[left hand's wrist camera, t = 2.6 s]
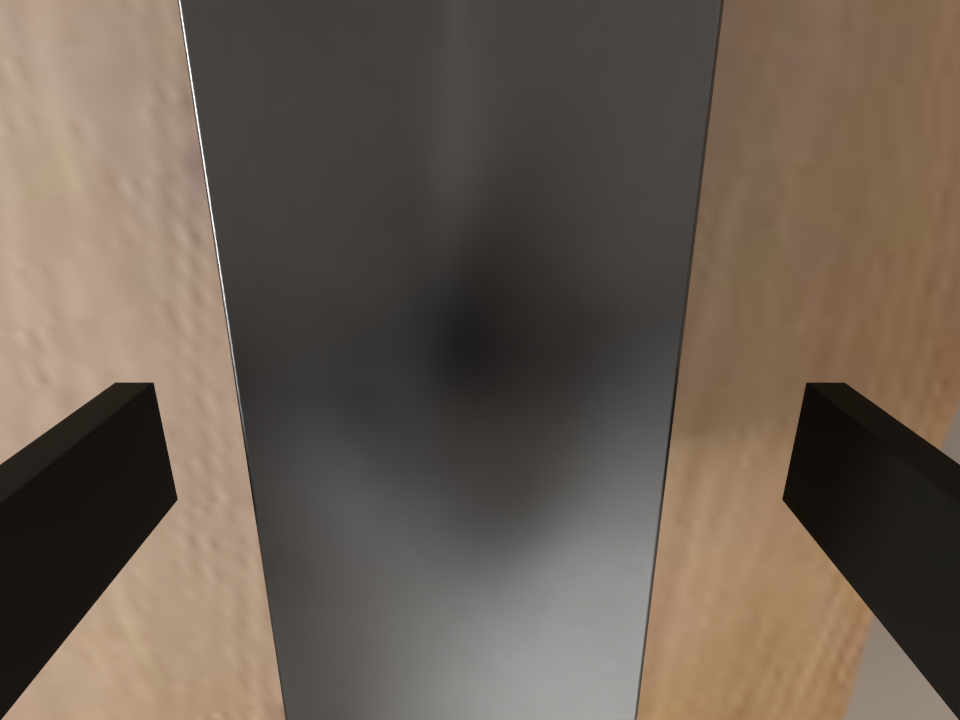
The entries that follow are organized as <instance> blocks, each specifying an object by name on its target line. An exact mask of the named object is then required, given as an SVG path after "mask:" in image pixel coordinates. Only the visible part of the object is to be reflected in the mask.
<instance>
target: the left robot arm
mask: <svg viewBox="0 0 960 720" xmlns="http://www.w3.org/2000/svg"><path fill="white" fill-rule="evenodd" d="M177 500H178V499H177V494H176V490H175V485H174V480H173V475H172V470H171V465H170V460H169V456H168V451H167V446H166V441H165V436H164V431H163V427H162V422H161V417H160V412H159V407H158V402H157V398H156V393H155V388H154V383H114V384H113V385H111V386H110V387H109V388H107V389H106V390H104V391H103V392H102V393H100V394H99V395H97V396H96V397H95V398H93V399H92V400H90V401H89V402H88V403H86V404H85V405H83V406H82V407H81V408H79V409H78V410H76V411H75V412H74V413H72V414H71V415H69V416H68V417H67V418H65V419H64V420H62V421H61V422H60V423H58V424H57V425H55V426H54V427H53V428H51V429H50V430H48V431H47V432H46V433H44V434H43V435H41V436H40V437H39V438H37V439H36V440H34V441H33V442H32V443H30V444H29V445H27V446H26V447H25V448H23V449H22V450H20V451H19V452H18V453H16V454H15V455H13V456H12V457H11V458H9V459H8V460H6V461H5V462H4V463H2V464H1V465H0V720H1V719H2V718H3V717H4V715H5V714H6V713H7V712H8V710H9V709H10V708H11V707H12V706H13V704H14V703H15V702H16V701H17V699H18V698H19V697H20V696H21V694H22V693H23V692H24V691H25V689H26V688H27V687H28V686H29V684H30V683H31V682H32V681H33V679H34V678H35V677H36V676H37V674H38V673H39V672H40V671H41V669H42V668H43V667H44V666H45V664H46V663H47V662H48V661H49V659H50V658H51V657H52V656H53V654H54V653H55V652H56V651H57V649H58V648H59V647H60V646H61V644H62V643H63V642H64V641H65V639H66V638H67V637H68V636H69V634H70V633H71V632H72V631H73V629H74V628H75V627H76V626H77V624H78V623H79V622H80V621H81V619H82V618H83V617H84V616H85V614H86V613H87V612H88V611H89V609H90V608H91V607H92V606H93V604H94V603H95V602H96V601H97V600H98V598H99V597H100V596H101V595H102V593H103V592H104V591H105V590H106V588H107V587H108V586H109V585H110V583H111V582H112V581H113V580H114V578H115V577H116V576H117V575H118V573H119V572H120V571H121V570H122V568H123V567H124V566H125V565H126V563H127V562H128V561H129V560H130V558H131V557H132V556H133V555H134V553H135V552H136V551H137V550H138V548H139V547H140V546H141V545H142V543H143V542H144V541H145V540H146V538H147V537H148V536H149V535H150V533H151V532H152V531H153V530H154V528H155V527H156V526H157V525H158V523H159V522H160V521H161V520H162V518H163V517H164V516H165V515H166V513H167V512H168V511H169V510H170V508H171V507H172V506H173V505H174V503H175V502H176V501H177ZM782 500H783V501H784V502H785V503H786V505H787V506H788V507H789V508H790V510H791V511H792V512H793V513H794V515H795V516H796V517H797V518H798V520H799V521H800V522H801V523H802V525H803V526H804V527H805V528H806V530H807V531H808V532H809V533H810V535H811V536H812V537H813V538H814V540H815V541H816V542H817V543H818V545H819V546H820V547H821V548H822V550H823V551H824V552H825V553H826V555H827V556H828V557H829V558H830V560H831V561H832V562H833V563H834V565H835V566H836V567H837V568H838V570H839V571H840V572H841V573H842V575H843V576H844V577H845V578H846V580H847V581H848V582H849V583H850V585H851V586H852V587H853V588H854V590H855V591H856V592H857V593H858V595H859V596H860V597H861V598H862V600H863V601H864V602H865V603H866V604H867V606H868V607H869V608H870V609H871V611H872V612H873V613H874V614H875V616H876V617H877V618H878V619H879V621H880V622H881V623H882V624H883V626H884V627H885V628H886V629H887V631H888V632H889V633H890V634H891V636H892V637H893V638H894V639H895V641H896V642H897V643H898V644H899V646H900V647H901V648H902V649H903V651H904V652H905V653H906V654H907V656H908V657H909V658H910V659H911V661H912V662H913V663H914V664H915V666H916V667H917V668H918V669H919V671H920V672H921V673H922V674H923V676H924V677H925V678H926V679H927V681H928V682H929V683H930V684H931V686H932V687H933V688H934V689H935V691H936V692H937V693H938V694H939V695H940V697H941V698H942V699H943V701H944V702H945V703H946V704H947V706H948V707H949V708H950V709H951V710H952V712H953V713H954V714H955V715H956V717H957V718H958V719H959V720H960V465H959V464H958V463H956V462H955V461H954V460H952V459H951V458H949V457H948V456H947V455H945V454H944V453H942V452H941V451H940V450H938V449H937V448H935V447H934V446H933V445H931V444H930V443H928V442H927V441H926V440H924V439H923V438H921V437H920V436H919V435H917V434H916V433H914V432H913V431H912V430H910V429H909V428H907V427H906V426H905V425H903V424H902V423H900V422H899V421H898V420H896V419H895V418H893V417H892V416H891V415H889V414H888V413H886V412H885V411H884V410H882V409H881V408H879V407H878V406H877V405H875V404H874V403H872V402H871V401H870V400H868V399H867V398H865V397H864V396H863V395H861V394H860V393H858V392H857V391H856V390H854V389H853V388H851V387H850V386H849V385H847V384H846V383H806V388H805V393H804V398H803V402H802V407H801V412H800V417H799V422H798V427H797V431H796V436H795V441H794V446H793V451H792V456H791V460H790V465H789V470H788V475H787V480H786V485H785V490H784V494H783V499H782Z"/></svg>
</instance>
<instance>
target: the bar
mask: <svg viewBox="0 0 960 720" xmlns="http://www.w3.org/2000/svg"><path fill="white" fill-rule="evenodd" d="M723 2H724V0H178V6H179V12H180V19H181V26H182V32H183V39H184V46H185V52H186V59H187V65H188V72H189V79H190V85H191V92H192V99H193V105H194V112H195V119H196V125H197V132H198V139H199V145H200V152H201V159H202V165H203V172H204V179H205V185H206V192H207V199H208V205H209V212H210V219H211V225H212V232H213V238H214V245H215V252H216V258H217V265H218V272H219V278H220V285H221V292H222V298H223V305H224V312H225V318H226V325H227V332H228V338H229V345H230V352H231V358H232V365H233V372H234V378H235V385H236V392H237V398H238V405H239V411H240V418H241V425H242V431H243V438H244V445H245V451H246V458H247V465H248V471H249V478H250V485H251V491H252V498H253V505H254V511H255V518H256V525H257V531H258V538H259V545H260V551H261V558H262V565H263V571H264V578H265V584H266V591H267V598H268V604H269V611H270V618H271V624H272V631H273V638H274V644H275V651H276V658H277V664H278V671H279V678H280V684H281V691H282V698H283V704H284V711H285V718H286V720H636V719H637V713H638V704H639V696H640V688H641V680H642V671H643V663H644V655H645V647H646V638H647V630H648V622H649V613H650V605H651V597H652V589H653V580H654V572H655V564H656V556H657V547H658V539H659V531H660V523H661V514H662V506H663V498H664V490H665V481H666V473H667V465H668V457H669V448H670V440H671V432H672V424H673V415H674V407H675V399H676V391H677V382H678V374H679V366H680V357H681V349H682V341H683V333H684V324H685V316H686V308H687V300H688V291H689V283H690V275H691V267H692V258H693V250H694V242H695V234H696V225H697V217H698V209H699V201H700V192H701V184H702V176H703V168H704V159H705V151H706V143H707V135H708V126H709V118H710V110H711V101H712V93H713V85H714V77H715V68H716V60H717V52H718V44H719V35H720V27H721V19H722V11H723Z"/></svg>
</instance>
